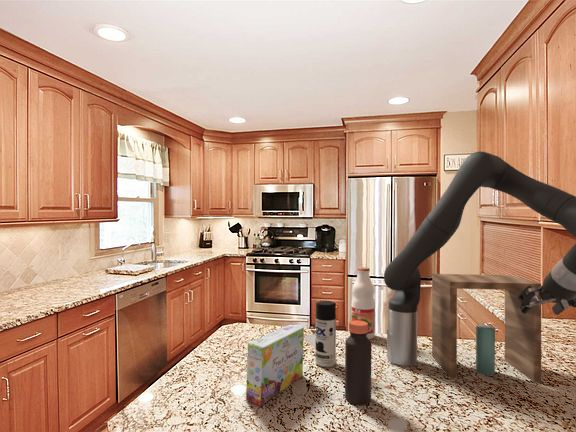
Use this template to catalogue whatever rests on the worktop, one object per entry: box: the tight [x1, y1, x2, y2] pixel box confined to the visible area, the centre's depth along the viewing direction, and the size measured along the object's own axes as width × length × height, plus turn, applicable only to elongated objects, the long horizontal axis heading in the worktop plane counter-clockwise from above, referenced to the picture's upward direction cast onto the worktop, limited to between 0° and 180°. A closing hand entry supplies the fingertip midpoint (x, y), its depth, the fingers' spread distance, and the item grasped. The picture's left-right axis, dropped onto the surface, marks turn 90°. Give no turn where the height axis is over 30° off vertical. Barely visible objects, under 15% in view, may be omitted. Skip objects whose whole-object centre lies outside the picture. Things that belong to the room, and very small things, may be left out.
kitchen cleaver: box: [304, 325, 316, 350], centre depth 139 cm, size 24×1×10 cm
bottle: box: [344, 320, 373, 406], centre depth 91 cm, size 7×7×20 cm
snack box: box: [245, 324, 305, 407], centre depth 97 cm, size 21×6×15 cm, turn 148°
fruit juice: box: [351, 266, 376, 340], centre depth 142 cm, size 9×9×28 cm
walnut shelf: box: [431, 273, 542, 384], centre depth 111 cm, size 26×16×29 cm, turn 85°
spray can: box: [314, 300, 337, 368], centre depth 114 cm, size 7×7×20 cm
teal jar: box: [475, 324, 496, 376], centre depth 109 cm, size 5×5×14 cm
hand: (538, 311), depth 96 cm, fingers open, 8 cm apart
